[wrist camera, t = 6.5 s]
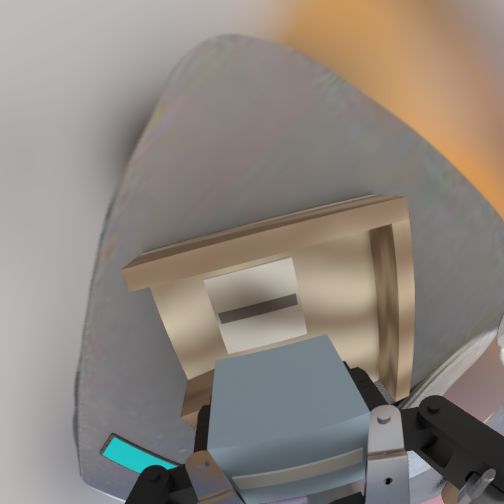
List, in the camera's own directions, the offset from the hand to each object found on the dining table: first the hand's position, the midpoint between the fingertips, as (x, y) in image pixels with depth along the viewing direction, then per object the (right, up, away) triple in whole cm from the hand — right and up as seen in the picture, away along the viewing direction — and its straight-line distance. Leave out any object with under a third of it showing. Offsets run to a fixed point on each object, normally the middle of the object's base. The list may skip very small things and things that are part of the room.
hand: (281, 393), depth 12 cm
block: (0, 0, 0) cm, 0 cm away
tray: (+2, 0, +12) cm, 12 cm away
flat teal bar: (-15, -23, +17) cm, 32 cm away
